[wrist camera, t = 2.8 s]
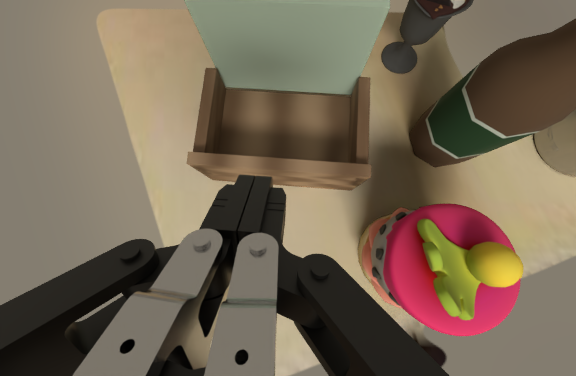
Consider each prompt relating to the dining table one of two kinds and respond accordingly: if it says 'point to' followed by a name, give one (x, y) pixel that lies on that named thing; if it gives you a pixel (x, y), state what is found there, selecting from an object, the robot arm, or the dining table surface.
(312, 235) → the dining table surface
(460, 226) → the cake
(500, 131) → the beer bottle
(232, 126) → the wooden box
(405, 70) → the sundae
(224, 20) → the pale green panel
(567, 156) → the robot arm
